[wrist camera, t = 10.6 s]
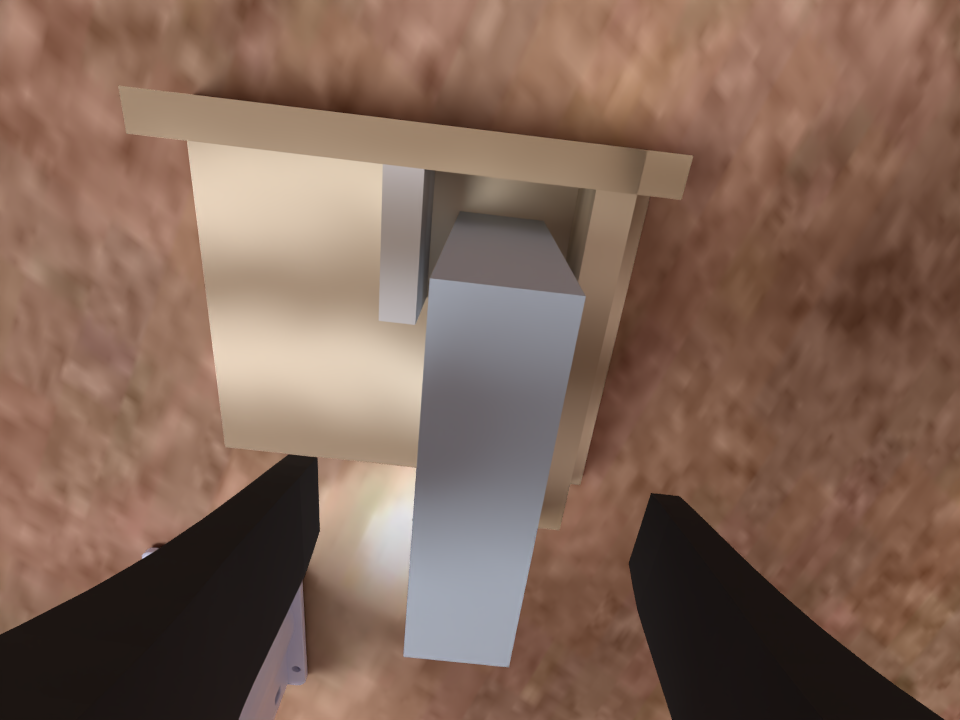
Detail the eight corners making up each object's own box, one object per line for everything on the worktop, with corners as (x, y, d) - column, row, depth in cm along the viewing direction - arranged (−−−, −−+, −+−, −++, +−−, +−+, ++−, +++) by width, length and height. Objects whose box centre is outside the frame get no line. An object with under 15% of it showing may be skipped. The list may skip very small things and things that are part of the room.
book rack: (578, 476, 23) (591, 533, 20) (231, 439, 23) (187, 490, 19) (655, 151, 17) (693, 155, 14) (191, 94, 17) (117, 85, 14)
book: (503, 471, 22) (508, 667, 14) (437, 463, 22) (403, 656, 14) (543, 221, 18) (586, 296, 10) (460, 211, 18) (430, 278, 9)
